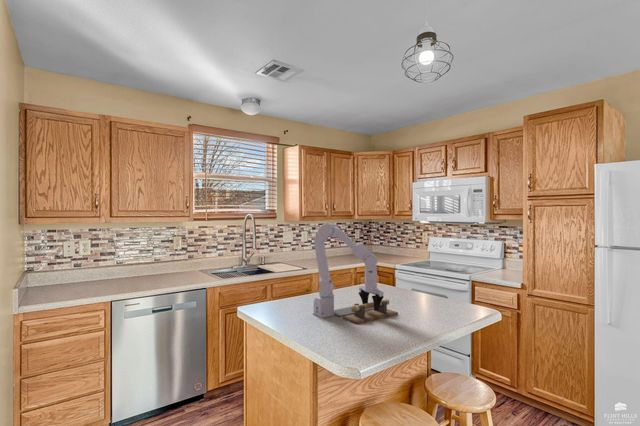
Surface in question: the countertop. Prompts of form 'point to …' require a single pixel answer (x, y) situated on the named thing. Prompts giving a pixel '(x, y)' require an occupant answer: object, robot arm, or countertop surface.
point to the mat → (346, 311)
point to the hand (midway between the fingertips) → (370, 308)
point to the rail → (366, 305)
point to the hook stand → (369, 314)
